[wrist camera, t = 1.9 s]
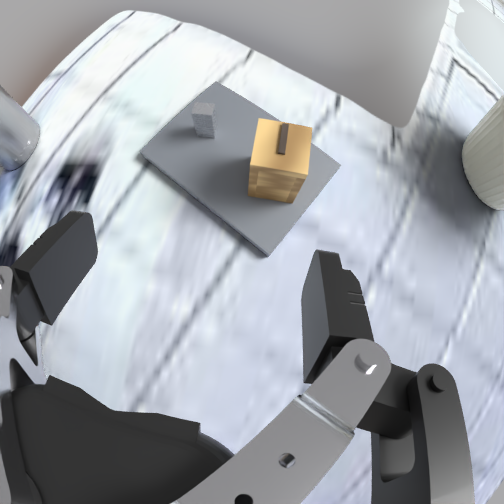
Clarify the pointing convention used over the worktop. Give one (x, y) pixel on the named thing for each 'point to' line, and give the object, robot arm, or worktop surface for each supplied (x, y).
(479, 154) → the canister
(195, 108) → the metal shaft
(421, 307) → the worktop surface
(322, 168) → the slate base plate
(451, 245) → the worktop surface
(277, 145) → the ochre knob
